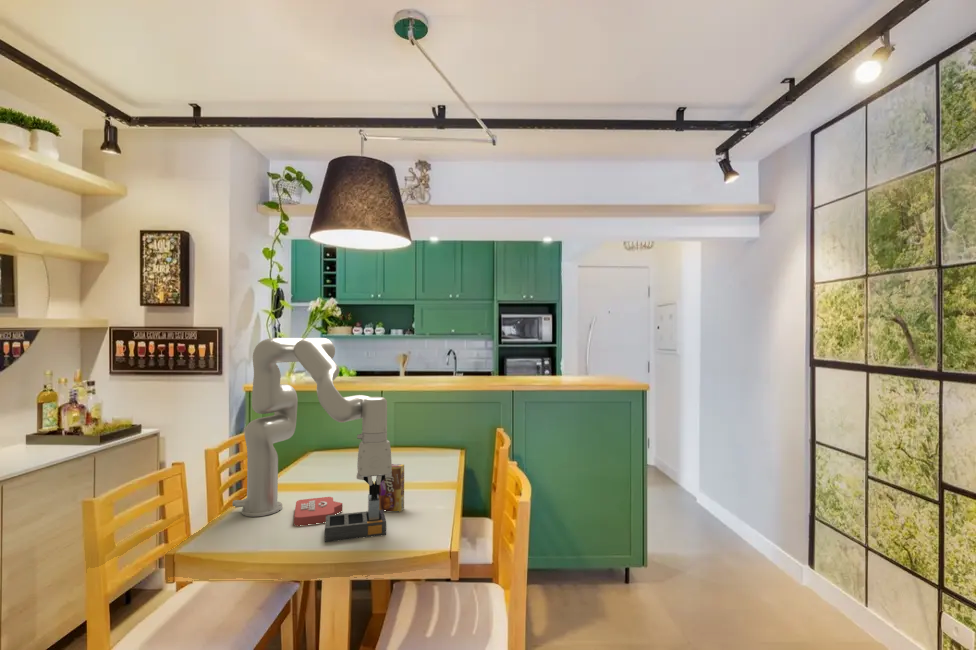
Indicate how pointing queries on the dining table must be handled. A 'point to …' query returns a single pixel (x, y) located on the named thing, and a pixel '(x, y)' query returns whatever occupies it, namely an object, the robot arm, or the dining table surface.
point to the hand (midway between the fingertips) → (374, 496)
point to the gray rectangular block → (373, 508)
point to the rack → (353, 526)
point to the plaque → (315, 510)
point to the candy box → (392, 490)
